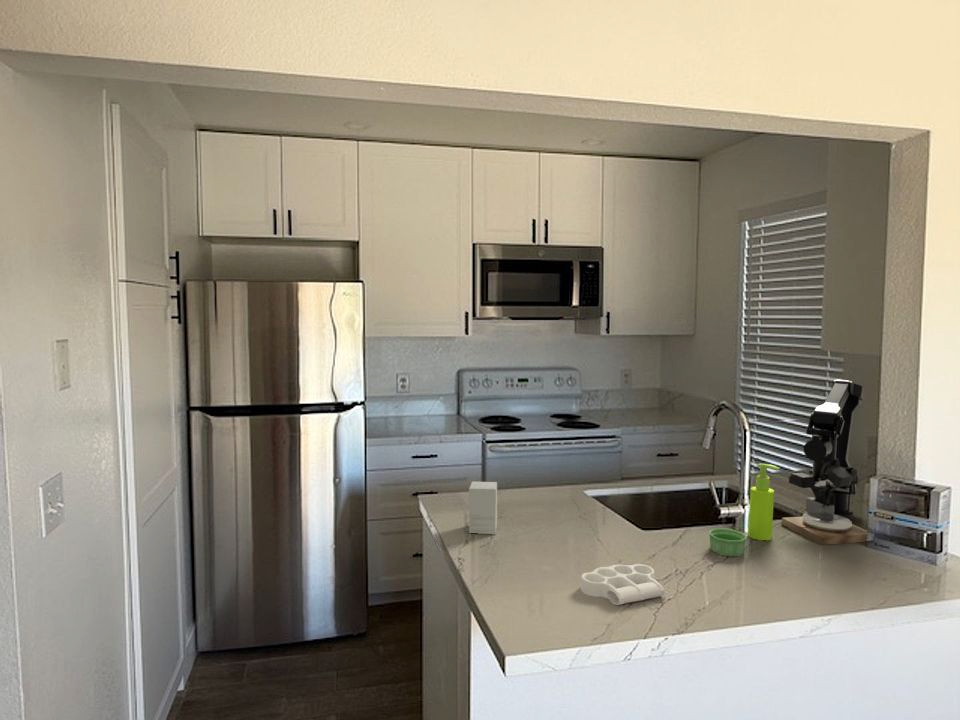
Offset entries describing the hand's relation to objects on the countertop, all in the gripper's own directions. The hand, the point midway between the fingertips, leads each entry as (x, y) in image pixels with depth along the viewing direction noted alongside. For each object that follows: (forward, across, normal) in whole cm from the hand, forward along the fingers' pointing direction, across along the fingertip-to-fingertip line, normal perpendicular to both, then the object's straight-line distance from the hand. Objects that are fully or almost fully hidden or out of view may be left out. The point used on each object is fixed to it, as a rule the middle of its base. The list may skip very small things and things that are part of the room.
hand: (822, 508), depth 187 cm
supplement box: (+4, -95, +18) cm, 97 cm away
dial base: (+5, -3, -5) cm, 8 cm away
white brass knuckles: (+5, -75, -25) cm, 79 cm away
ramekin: (+5, -38, -10) cm, 40 cm away
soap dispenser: (+5, -23, -4) cm, 24 cm away
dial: (+3, -3, -4) cm, 6 cm away
